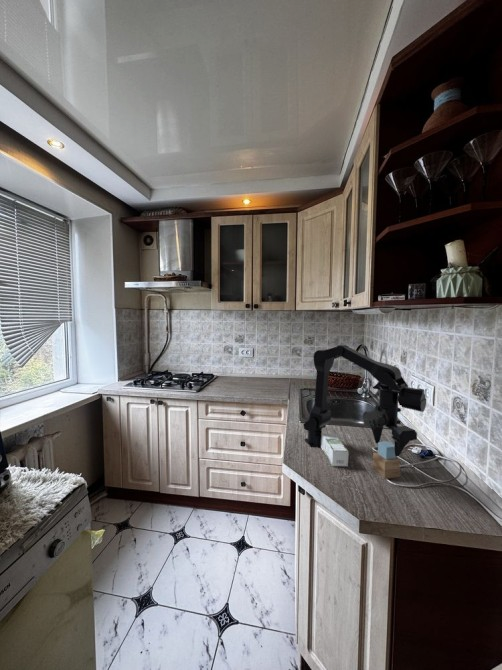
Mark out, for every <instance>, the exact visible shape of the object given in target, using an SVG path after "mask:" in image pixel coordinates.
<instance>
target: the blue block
mask: <svg viewBox="0 0 502 670" xmlns="http://www.w3.org/2000/svg"><path fill="white" fill-rule="evenodd" d="M377 453H378V454H379V455H380V456H382V457H383V458H385V459H394V458H397V457H398V456H395V444H393V443H392V442H390V441H388V440H386V441H379V442H378V443H377Z"/></svg>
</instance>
